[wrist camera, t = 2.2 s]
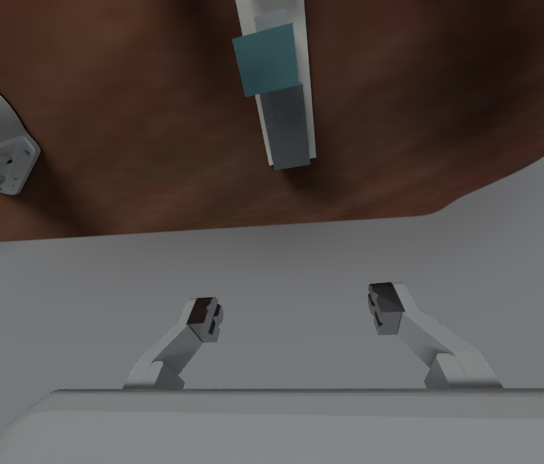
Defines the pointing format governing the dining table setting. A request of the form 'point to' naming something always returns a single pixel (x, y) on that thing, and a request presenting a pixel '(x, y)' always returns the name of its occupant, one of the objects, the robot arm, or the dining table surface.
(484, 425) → the robot arm
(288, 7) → the base board
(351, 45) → the dining table surface
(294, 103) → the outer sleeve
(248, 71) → the teal oblong box
